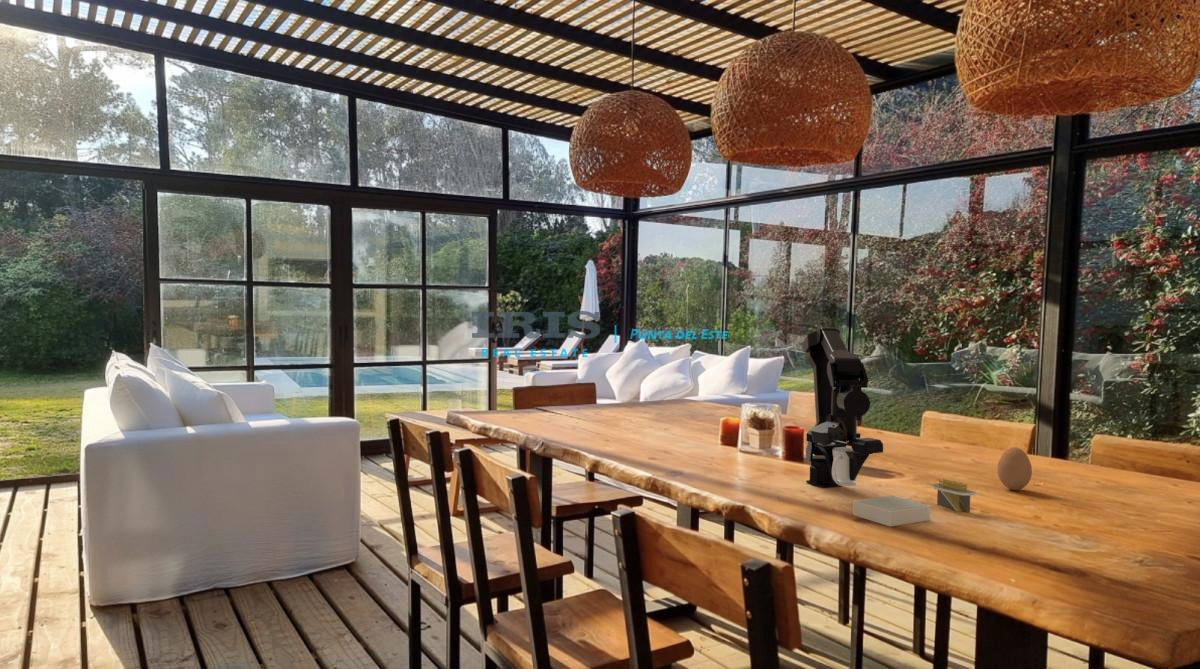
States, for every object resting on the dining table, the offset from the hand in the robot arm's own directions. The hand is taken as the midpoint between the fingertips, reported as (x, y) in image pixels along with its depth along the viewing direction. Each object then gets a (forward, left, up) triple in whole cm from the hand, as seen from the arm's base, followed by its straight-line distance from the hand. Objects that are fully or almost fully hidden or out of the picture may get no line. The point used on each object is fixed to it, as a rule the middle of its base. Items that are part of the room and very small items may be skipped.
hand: (842, 477), depth 172 cm
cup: (0, 0, -2) cm, 2 cm away
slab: (+1, +15, -6) cm, 16 cm away
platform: (-18, +15, -6) cm, 24 cm away
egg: (-50, +9, -6) cm, 51 cm away
